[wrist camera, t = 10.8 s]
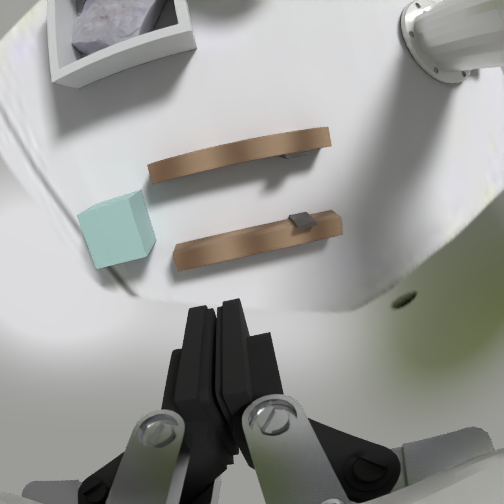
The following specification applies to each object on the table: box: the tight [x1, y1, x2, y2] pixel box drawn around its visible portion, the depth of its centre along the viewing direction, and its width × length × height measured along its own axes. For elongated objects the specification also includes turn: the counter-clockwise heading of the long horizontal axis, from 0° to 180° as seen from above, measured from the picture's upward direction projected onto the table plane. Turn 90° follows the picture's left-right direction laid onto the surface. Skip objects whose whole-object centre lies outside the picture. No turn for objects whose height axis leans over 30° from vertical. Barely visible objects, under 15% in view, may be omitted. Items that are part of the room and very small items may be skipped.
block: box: [77, 190, 156, 269], centre depth 30 cm, size 6×6×5 cm
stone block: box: [71, 0, 166, 55], centre depth 22 cm, size 12×5×10 cm
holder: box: [47, 0, 197, 89], centre depth 20 cm, size 14×16×6 cm
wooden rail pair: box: [147, 127, 343, 271], centre depth 30 cm, size 18×12×4 cm, turn 102°
